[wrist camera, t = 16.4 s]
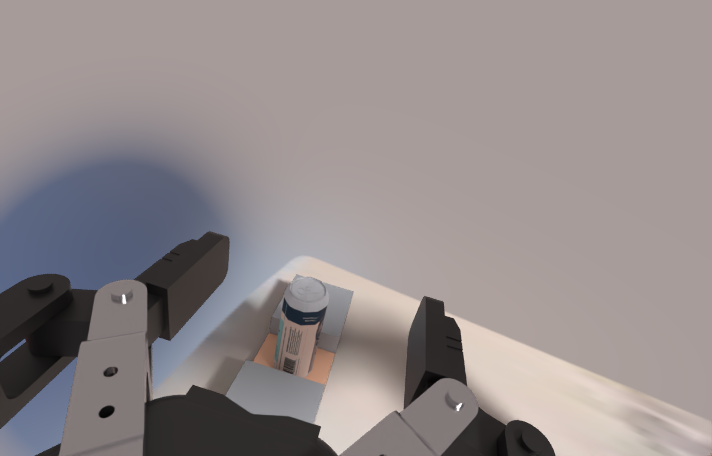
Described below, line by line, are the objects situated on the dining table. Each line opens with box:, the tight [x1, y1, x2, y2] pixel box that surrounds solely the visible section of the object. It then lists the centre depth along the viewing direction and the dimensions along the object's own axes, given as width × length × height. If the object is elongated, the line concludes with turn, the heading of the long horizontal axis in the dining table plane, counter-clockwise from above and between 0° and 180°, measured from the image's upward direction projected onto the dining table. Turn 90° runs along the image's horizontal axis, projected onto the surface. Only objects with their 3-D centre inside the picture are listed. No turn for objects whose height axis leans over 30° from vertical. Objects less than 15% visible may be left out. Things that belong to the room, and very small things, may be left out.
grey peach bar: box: [225, 274, 353, 424], centre depth 41 cm, size 9×26×4 cm, turn 169°
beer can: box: [273, 277, 329, 378], centre depth 39 cm, size 5×5×12 cm
